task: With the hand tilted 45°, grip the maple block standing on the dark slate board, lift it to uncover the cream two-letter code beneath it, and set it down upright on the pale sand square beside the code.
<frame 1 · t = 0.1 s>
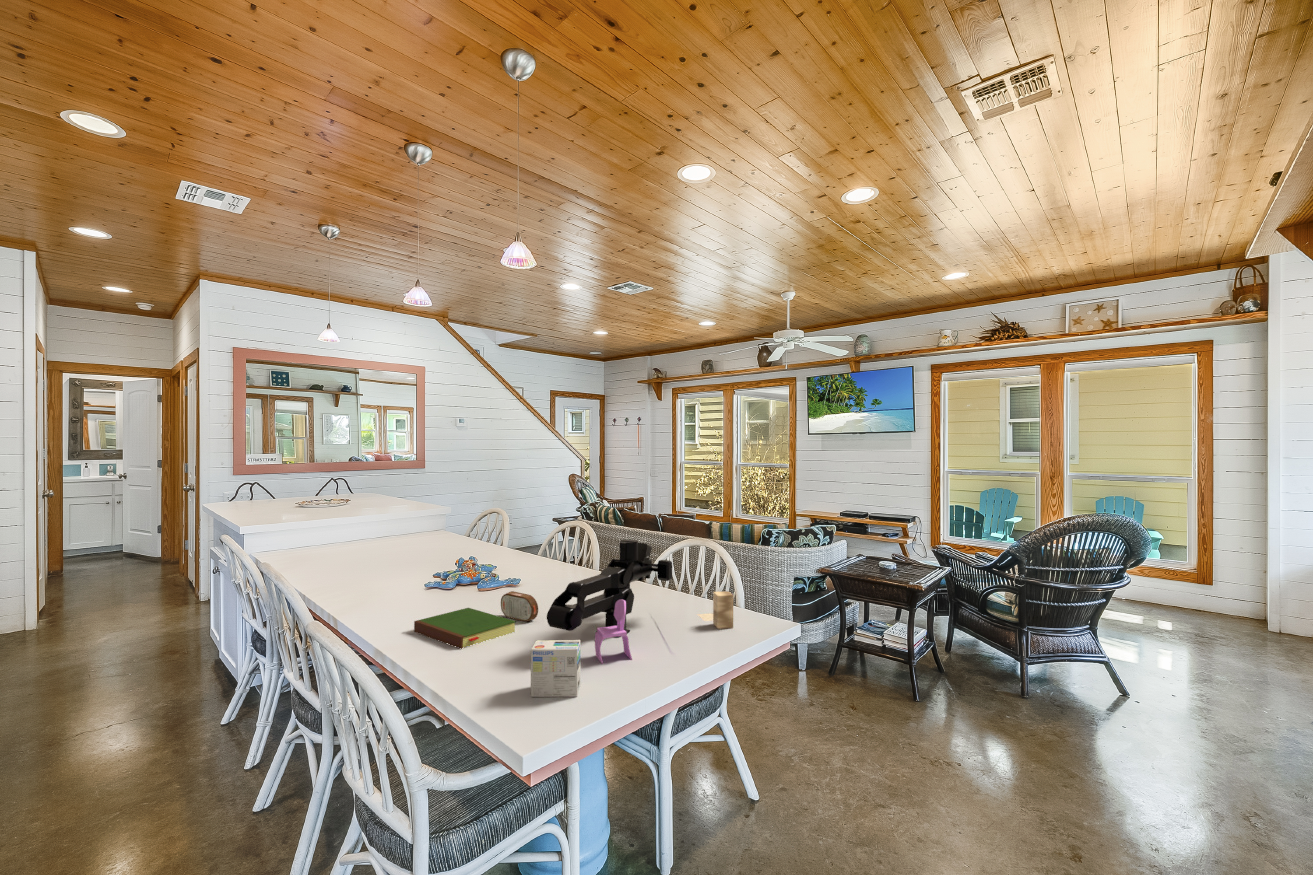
hand: (658, 563, 192), 17 cm above the table, tool horizontal, fingers open, 9 cm apart
light bulb box: (556, 692, 129), on the table
hardcover book: (465, 634, 170), on the table
toy chair: (613, 658, 150), on the table
slate code board: (717, 623, 180), on the table
tin: (518, 619, 184), on the table
maple block: (723, 625, 175), point 1 cm above the table, touching slate code board
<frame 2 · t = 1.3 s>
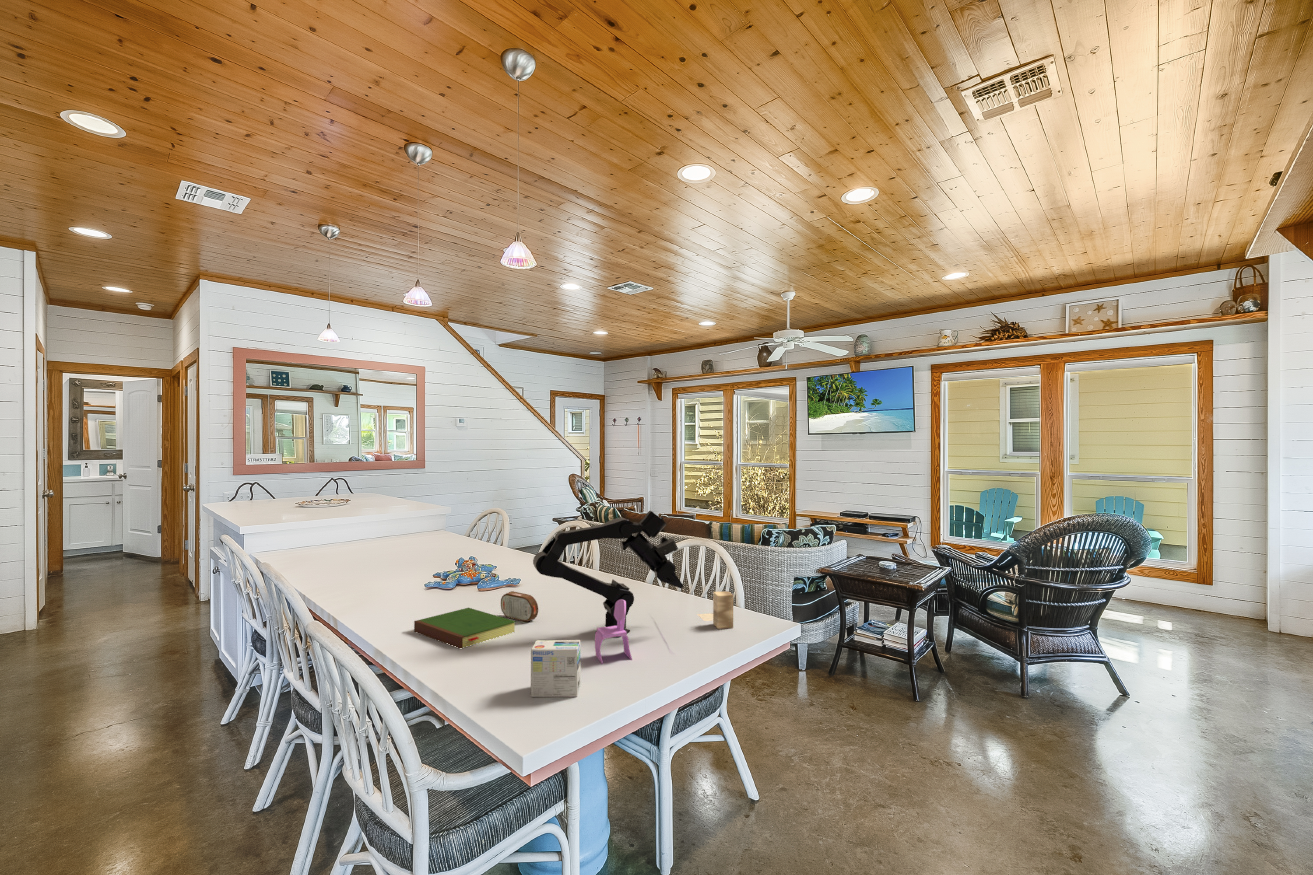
hand: (679, 583, 175), 14 cm above the table, tool tilted 45°, fingers open, 9 cm apart
nothing on the table moved.
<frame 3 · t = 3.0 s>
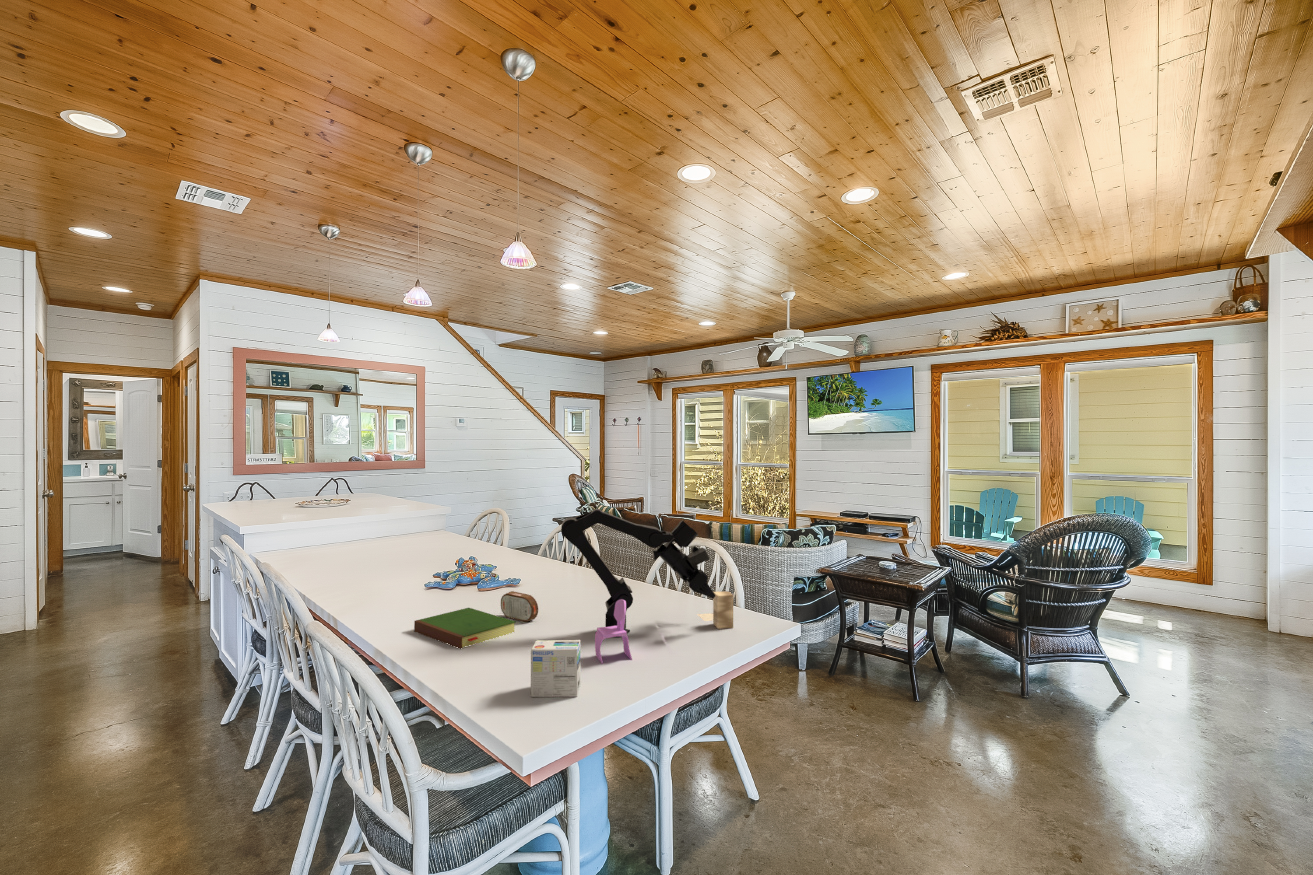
hand: (710, 593, 175), 11 cm above the table, tool tilted 45°, fingers open, 9 cm apart
nothing on the table moved.
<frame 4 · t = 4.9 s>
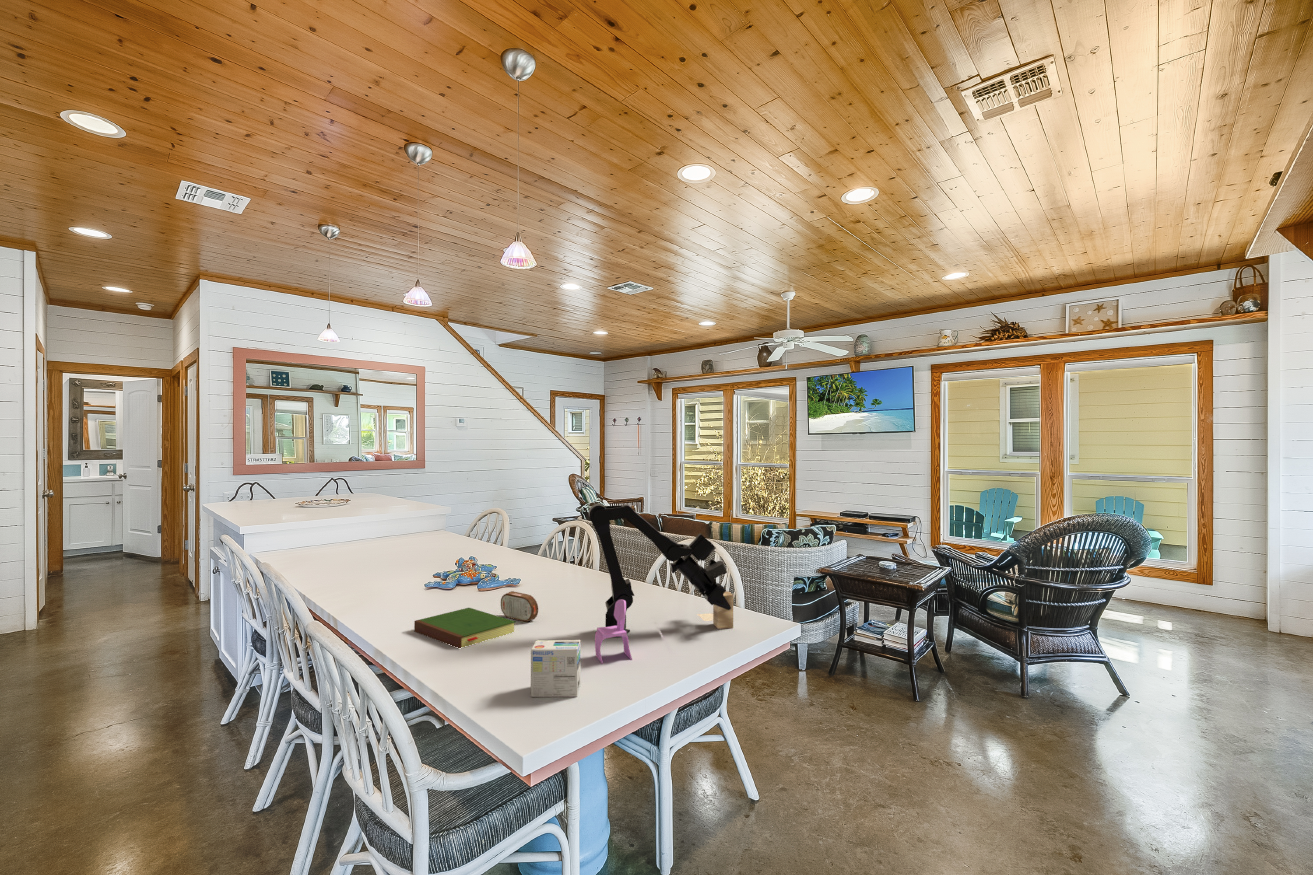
hand: (727, 606, 176), 7 cm above the table, tool tilted 45°, fingers closed on maple block, 5 cm apart
maple block: (723, 625, 175), point 1 cm above the table, touching gripper, slate code board
everything else where it was.
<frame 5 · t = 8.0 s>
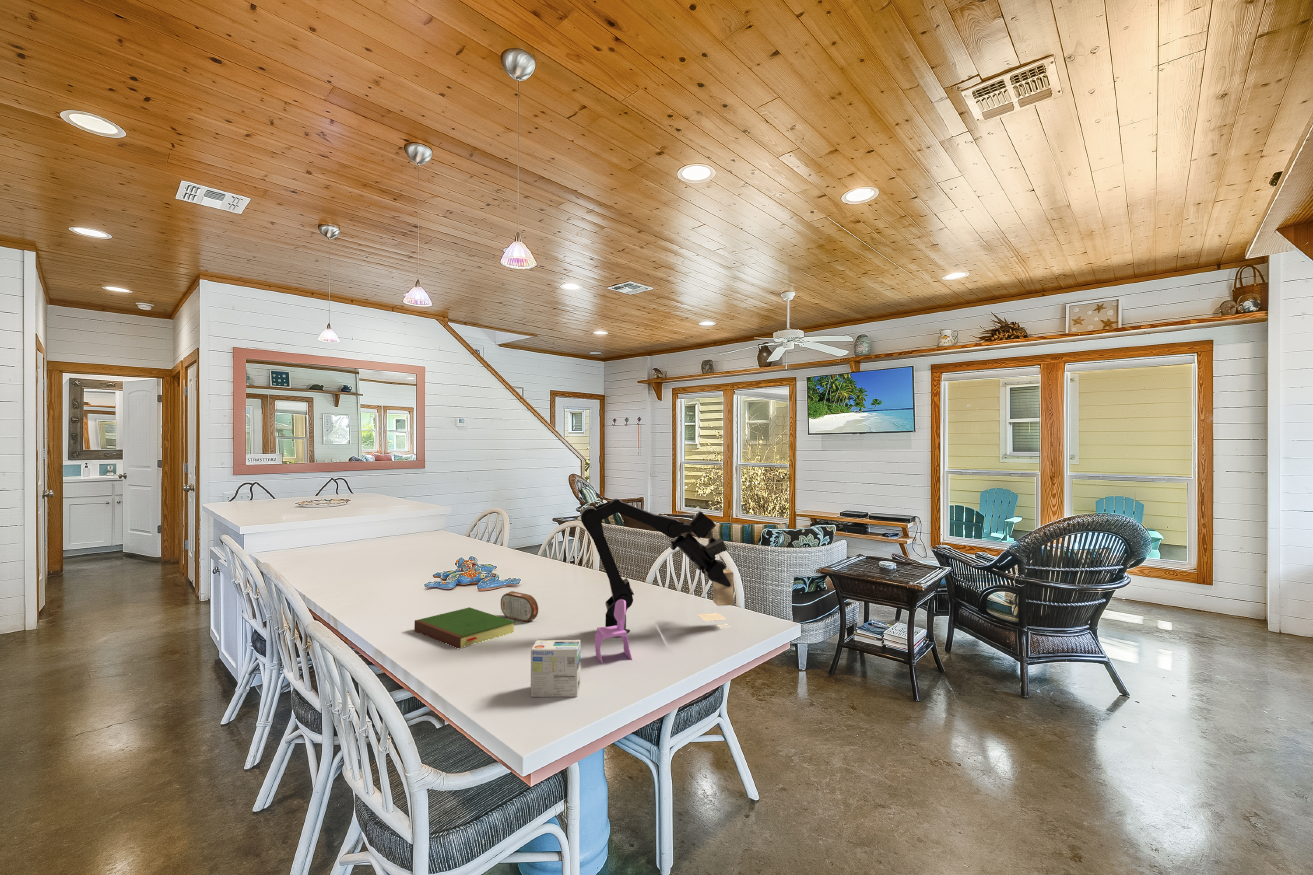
hand: (727, 584, 176), 14 cm above the table, tool tilted 45°, fingers closed on maple block, 5 cm apart
maple block: (723, 603, 176), point 8 cm above the table, touching gripper
everything else where it was.
when the fingers open (7 cm above the table, at t = 11.0 s): maple block stays where it is, resting on slate code board.
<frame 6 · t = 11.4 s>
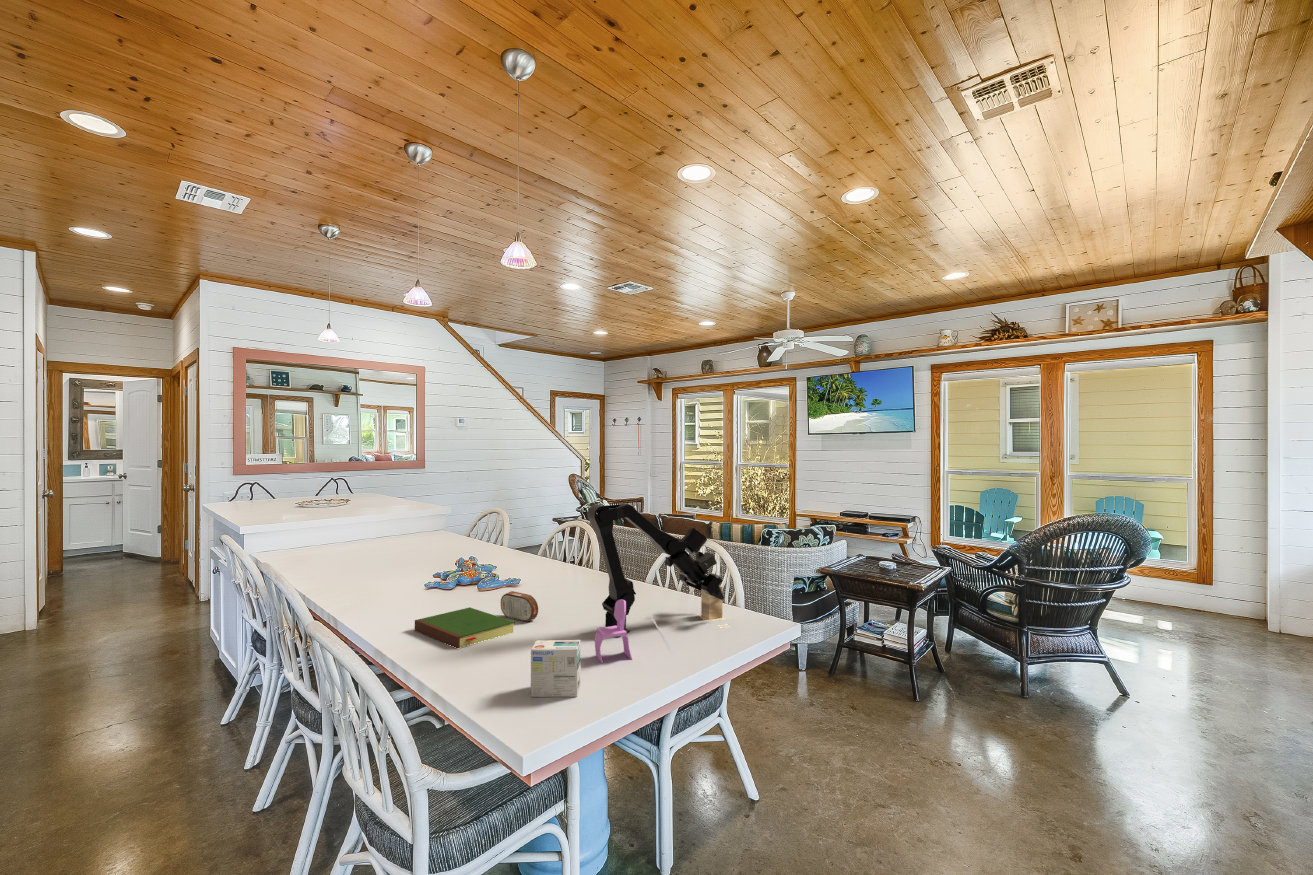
hand: (715, 595, 186), 7 cm above the table, tool tilted 45°, fingers open, 9 cm apart
maple block: (711, 616, 185), point 1 cm above the table, touching slate code board
everything else where it was.
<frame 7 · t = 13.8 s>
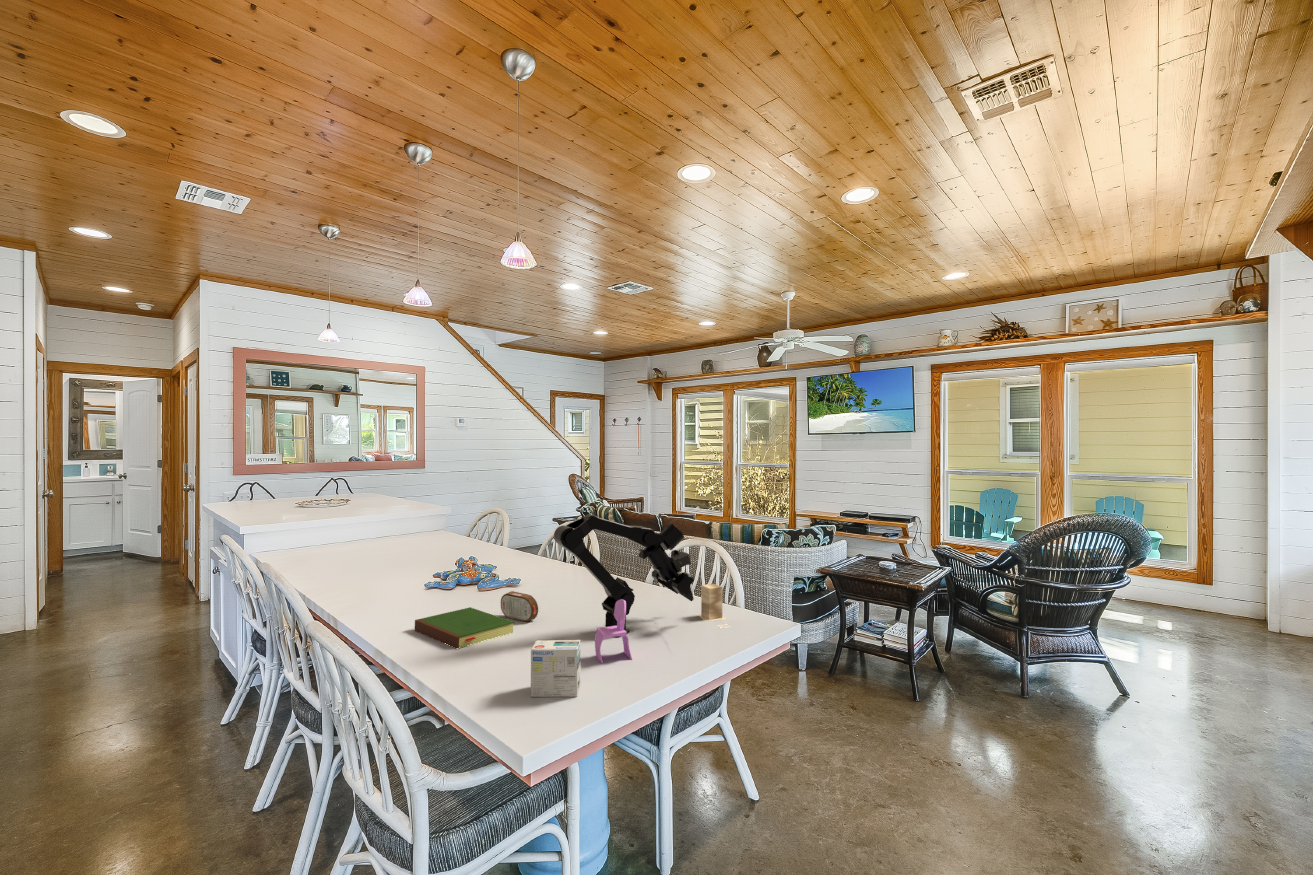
hand: (685, 596, 182), 8 cm above the table, tool tilted 35°, fingers open, 9 cm apart
nothing on the table moved.
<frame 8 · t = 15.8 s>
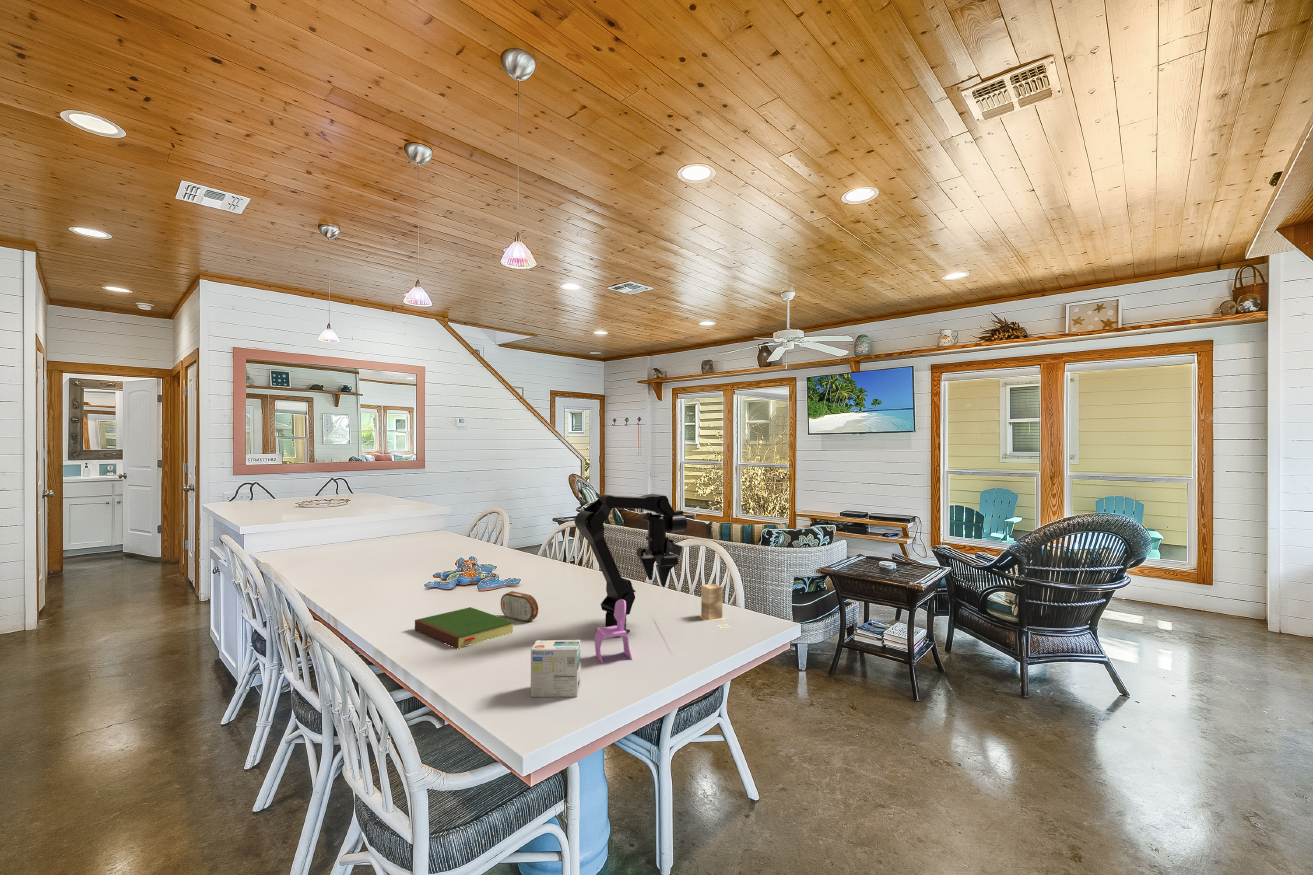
hand: (656, 582, 179), 13 cm above the table, tool pointing down, fingers open, 9 cm apart
nothing on the table moved.
at the end: maple block 0.0 cm from the target spot, point 0.6 cm above the table; maple block tilted 0°; the gripper is holding nothing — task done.
